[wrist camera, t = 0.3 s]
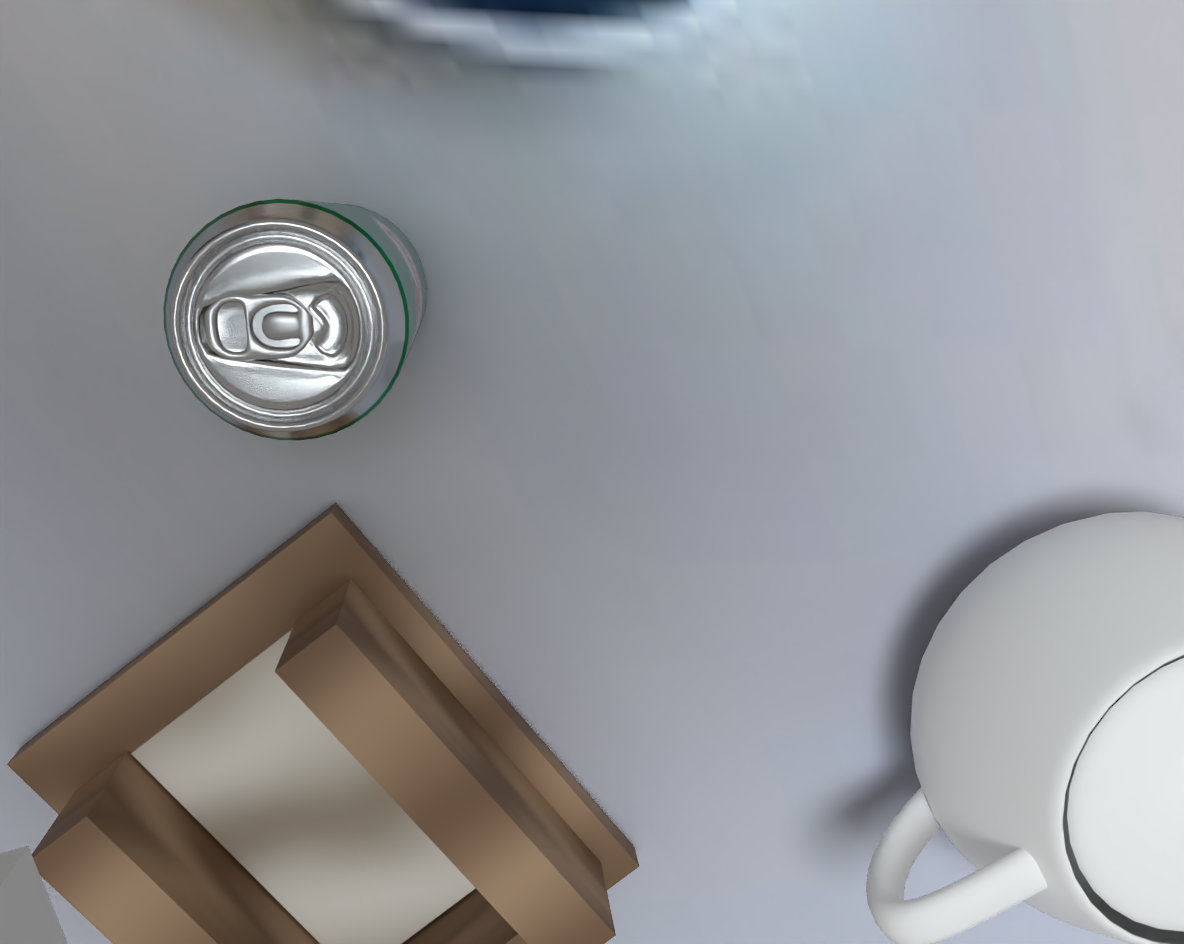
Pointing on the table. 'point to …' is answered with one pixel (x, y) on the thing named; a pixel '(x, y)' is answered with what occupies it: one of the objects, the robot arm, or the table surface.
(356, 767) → the cradle
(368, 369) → the soda can
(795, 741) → the table surface
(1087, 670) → the teapot
